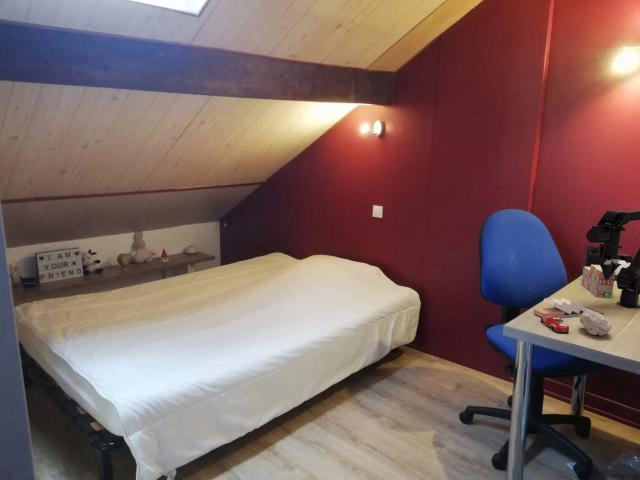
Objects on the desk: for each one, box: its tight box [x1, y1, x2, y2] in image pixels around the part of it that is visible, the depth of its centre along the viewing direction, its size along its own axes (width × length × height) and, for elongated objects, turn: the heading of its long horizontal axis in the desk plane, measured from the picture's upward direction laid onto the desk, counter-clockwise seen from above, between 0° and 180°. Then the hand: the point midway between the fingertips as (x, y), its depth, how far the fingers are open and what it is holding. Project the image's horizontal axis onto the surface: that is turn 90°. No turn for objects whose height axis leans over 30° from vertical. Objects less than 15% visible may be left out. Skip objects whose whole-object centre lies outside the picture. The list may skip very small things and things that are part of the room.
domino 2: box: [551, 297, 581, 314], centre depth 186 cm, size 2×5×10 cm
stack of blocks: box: [581, 265, 617, 299], centre depth 218 cm, size 21×6×12 cm, turn 168°
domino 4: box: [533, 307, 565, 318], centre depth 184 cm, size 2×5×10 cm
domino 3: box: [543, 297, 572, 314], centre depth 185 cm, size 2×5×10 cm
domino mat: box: [554, 306, 604, 319], centre depth 188 cm, size 22×8×1 cm, turn 107°
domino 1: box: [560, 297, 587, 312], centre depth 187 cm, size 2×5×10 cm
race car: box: [540, 316, 570, 333], centre depth 172 cm, size 13×5×4 cm, turn 0°
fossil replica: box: [579, 309, 612, 336], centre depth 166 cm, size 12×8×10 cm
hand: (606, 279), depth 193 cm, fingers closed
